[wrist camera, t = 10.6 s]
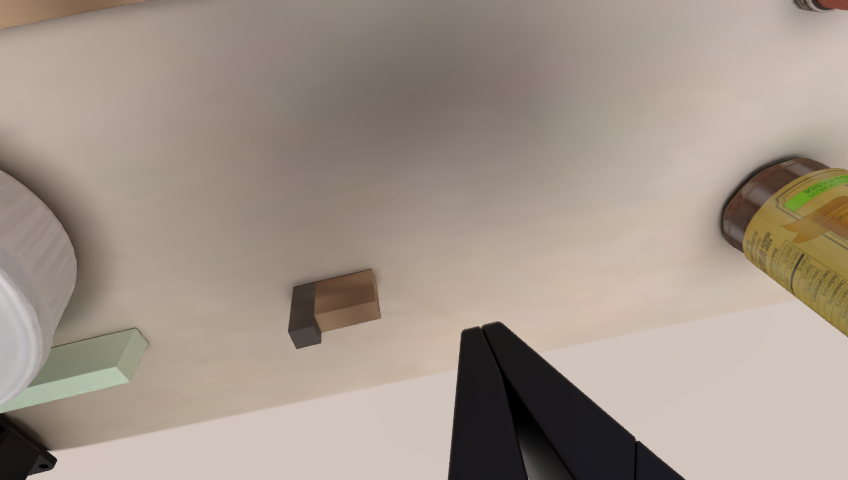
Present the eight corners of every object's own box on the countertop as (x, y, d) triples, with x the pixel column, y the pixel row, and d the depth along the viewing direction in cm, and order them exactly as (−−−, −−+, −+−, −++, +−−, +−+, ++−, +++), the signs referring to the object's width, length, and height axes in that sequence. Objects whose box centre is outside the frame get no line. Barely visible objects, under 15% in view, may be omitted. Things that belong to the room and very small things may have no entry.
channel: (155, 338, 23) (132, 388, 20) (-106, 0, 13) (-213, 11, 11) (376, 286, 23) (382, 328, 21) (272, -71, 14) (258, -75, 11)
